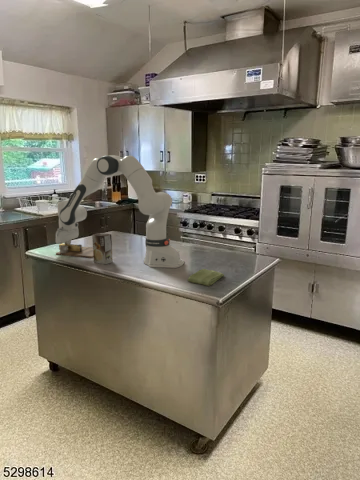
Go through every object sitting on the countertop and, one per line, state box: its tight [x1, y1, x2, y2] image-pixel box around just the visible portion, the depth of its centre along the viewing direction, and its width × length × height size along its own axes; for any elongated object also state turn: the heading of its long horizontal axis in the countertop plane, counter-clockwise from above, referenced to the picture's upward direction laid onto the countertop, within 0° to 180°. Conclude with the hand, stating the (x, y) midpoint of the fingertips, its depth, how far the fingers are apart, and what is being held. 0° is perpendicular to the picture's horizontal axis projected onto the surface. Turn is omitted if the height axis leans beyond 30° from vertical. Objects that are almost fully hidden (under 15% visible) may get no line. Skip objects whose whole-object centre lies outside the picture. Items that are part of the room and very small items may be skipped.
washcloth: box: [187, 268, 225, 287], centre depth 176 cm, size 13×18×3 cm
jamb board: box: [55, 245, 94, 259], centre depth 220 cm, size 24×18×5 cm
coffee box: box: [91, 232, 114, 265], centre depth 200 cm, size 9×6×16 cm
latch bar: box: [58, 243, 83, 252], centre depth 219 cm, size 14×3×4 cm, turn 74°
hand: (68, 247), depth 224 cm, fingers closed
